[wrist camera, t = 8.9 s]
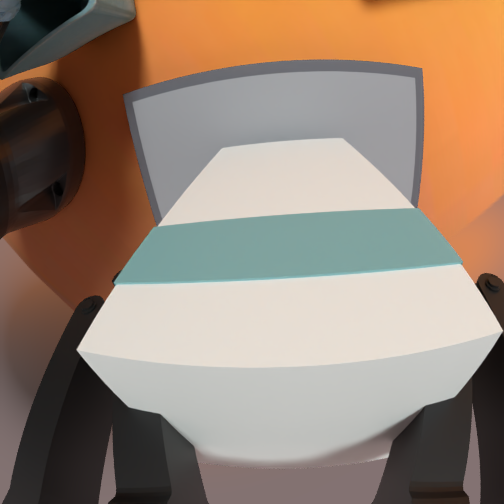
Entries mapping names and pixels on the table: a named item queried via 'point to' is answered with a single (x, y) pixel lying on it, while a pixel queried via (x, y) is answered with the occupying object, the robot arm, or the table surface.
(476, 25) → the table surface
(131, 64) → the table surface
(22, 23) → the flower pot
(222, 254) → the carton
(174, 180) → the podium
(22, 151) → the robot arm
